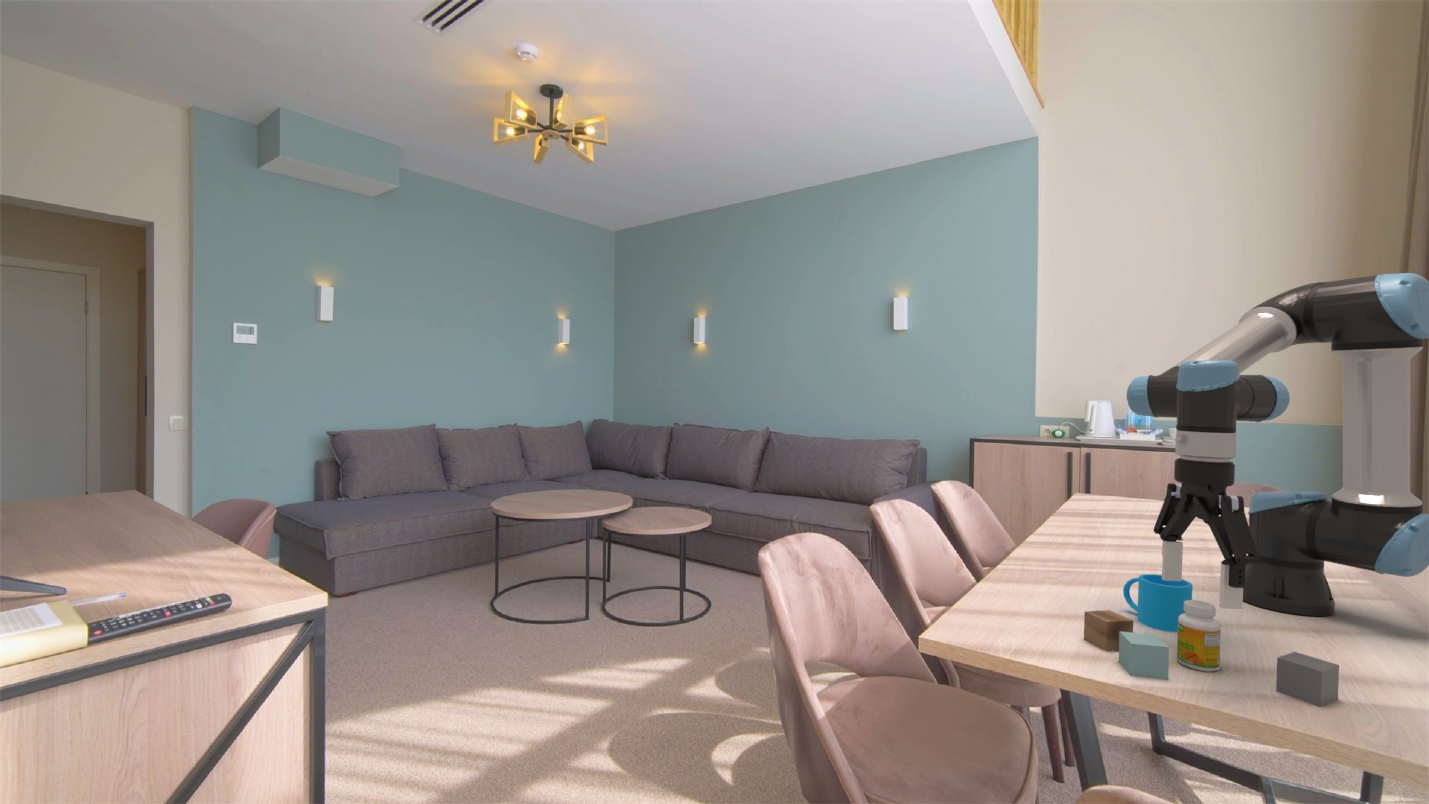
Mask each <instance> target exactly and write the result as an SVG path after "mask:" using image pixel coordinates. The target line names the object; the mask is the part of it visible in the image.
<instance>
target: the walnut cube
mask: <svg viewBox="0 0 1429 804" xmlns="http://www.w3.org/2000/svg"><path fill="white" fill-rule="evenodd" d="M1083 623H1084V625H1083V641H1085V642H1087V643H1090V644H1092V646H1095V647H1097V648H1099V649H1101V650H1103V651H1104V652H1117V651H1118V652H1119V631H1121V632H1131V633H1134V620H1133V619H1131V618H1130V617H1129V618H1128V617H1126V616H1125V615H1122V614H1119V613H1117V612H1115V611H1113V610H1110V609H1107V610H1090V611H1089V610H1088V611H1087V610H1086V611H1084V621H1083Z"/></svg>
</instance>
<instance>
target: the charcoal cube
mask: <svg viewBox="0 0 1429 804" xmlns="http://www.w3.org/2000/svg"><path fill="white" fill-rule="evenodd" d="M1339 677H1340V665H1339V664H1337V663H1334V662H1330V661H1327V660H1323V659H1320V658H1317V657H1314V656H1310V655H1307V654H1304V653H1300V652H1298V651H1292V652H1289V653H1286V654H1284V655H1281V656H1278V657H1277V658H1276V688H1275V692H1278V693H1280V694H1284V695H1287V696H1289V697H1291V698H1295V699H1297V700H1301V701H1303V702H1305V703H1309V704H1312V705H1315V706H1318V707H1321V708H1322V707H1324V706H1326V705H1328V704H1331V703H1333V702H1335V701H1337V700H1339V684H1340V683H1339V680H1340V678H1339Z"/></svg>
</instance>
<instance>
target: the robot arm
mask: <svg viewBox="0 0 1429 804" xmlns="http://www.w3.org/2000/svg"><path fill="white" fill-rule="evenodd" d="M1425 339H1429V280H1428V279H1426V278H1425V277H1424V276H1422V275H1420V274H1417V273H1413V272H1401V273H1400V272H1399V273H1382V274H1378V275H1377V274H1376V275H1369V276H1363V277H1353V278H1345V279H1340V280H1339V279H1337V280H1331V281H1319V282H1311V283H1307V284H1303V285H1300V286H1298V287H1294V288H1290V289H1288V290H1286V291H1284V292H1282V293H1280V294H1277V295H1275V296H1273V297H1271V298H1268V299H1266V300H1265V301H1263V302H1261V303H1259V304H1257V305H1256V306H1254V307H1252V308H1251V309H1249V310H1248V311H1246V312H1245V313H1244V314H1243V315H1242V316H1241V317H1240V319H1239V320H1238V324H1236V325H1234V326H1233V327H1231V328H1230V329H1229V330H1227V331H1226V332H1224V333H1222V334H1221V335H1220V336H1218V337H1217V338H1214V339H1213V340H1212V341H1210V342H1209V343H1207V344H1206V345H1204V346H1202V347H1201V348H1199V349H1198V350H1197V351H1195V352H1193V353H1192V354H1190V355H1188V356H1187V357H1185V358H1184V359H1183V360H1181V361H1180V362H1178V363H1176V364H1175V365H1173V366H1171V367H1170V368H1168V369H1166V371H1163V372H1162V373H1161V374H1158V375H1153V374H1148V375H1143V376H1137V377H1134V379H1133V380H1131V382H1130V383H1129V385H1128V387H1127V390H1126V401H1127V404H1128V408H1129V410H1131V412H1133V413H1135V414H1136V415H1138V416H1145V417H1153V418H1172V419H1173V418H1174V419H1176V427H1175V429H1176V433H1175V434H1176V435H1175V439H1174V441H1175V454H1176V455H1177V456H1179V457H1178V458H1176V459H1175V460H1174V473H1173V480H1174V481H1176V482H1178V483H1174V482H1173V483H1172V482H1168V483H1167V487H1166V495H1165V498H1164V500H1163V504H1162V506H1161V508H1160V510H1159V514H1158V516H1157V518H1156V522H1155V524H1154V527H1153V532H1154V534H1156V535H1159V538H1160V540H1162V553H1161V555H1162V561H1161V562H1162V564H1161V568H1162V569H1161V575H1162V580H1164V581H1182V579H1183V577H1182V576H1183V575H1182V574H1183V553H1184V552H1183V549H1184V548H1183V546H1184V542H1183V541H1184V539H1183V537H1182V536H1183V535H1184V533H1185V532H1186V531H1187V529H1188V528H1189V527H1190V525H1191V523H1192V522H1193V521H1194V520H1195V519H1196V518H1198V519H1199V520H1202V521H1203V523H1204V524H1206V525H1208V527H1209V529H1210V530H1211V533H1212V535H1213V537H1214V539H1215V542H1216V544H1217V545H1218V548H1219V550H1220V553H1221V555H1222V557H1223V560H1221V562H1220V576H1219V578H1220V579H1219V602H1218V603H1219V607H1220V608H1222V609H1232V610H1233V609H1234V610H1243V603H1244V602H1245V603H1247V604H1250V605H1252V606H1255V607H1259V608H1264V609H1268V610H1272V611H1276V612H1280V613H1286V614H1287V613H1288V614H1292V615H1299V616H1300V615H1302V616H1312V617H1313V616H1314V617H1325V616H1332V615H1334V614H1335V613H1336V612H1335V611H1336V601H1335V598H1334V596H1333V593H1332V591H1331V588H1330V585H1329V582H1328V580H1327V578H1326V577H1327V576H1326V574H1325V572H1324V571H1325V562H1326V563H1332V564H1337V565H1343V566H1346V567H1351V568H1356V569H1362V570H1366V571H1370V572H1375V573H1377V574H1379V575H1384V574H1387V575H1391V576H1397V577H1398V576H1399V577H1403V578H1409V577H1414V576H1418V575H1420V574H1421V573H1423V572H1424V571H1425V570H1426V569H1427V568H1428V567H1429V513H1424V512H1423V505H1424V504H1423V501H1422V500H1421V499H1420V498H1418V497H1417V496H1415V495H1414V493H1412V492H1411V359H1412V358H1413V357H1414V356H1416V355H1417V354H1418V353H1420V352H1421V351H1422V350H1423V349H1424V340H1425ZM1316 343H1318V344H1319V343H1321V344H1324V343H1325V344H1326V343H1331V345H1330V346H1331V347H1330V348H1331V354H1333V355H1335V357H1337V358H1339V360H1340V361H1342V487H1341V488H1340V489H1339V490H1337V491H1335V492H1334V493H1332V495H1331V501H1328V500H1329V497H1328V496H1327V494H1326V493H1325V492H1319V491H1301V490H1300V491H1297V490H1295V491H1291V490H1290V491H1288V490H1286V491H1283V490H1282V491H1261V492H1256V493H1254V494H1253V495H1252V496H1251V497H1250V502H1249V509H1248V512H1247V513H1248V514H1247V515H1248V519H1247V515H1246V513H1245V499H1244V497H1243V496H1241V495H1227V488H1228V487H1232V486H1234V484H1235V476H1236V475H1235V474H1236V473H1235V472H1236V471H1235V470H1236V464H1235V463H1234V462H1233V461H1231V460H1233V459H1235V458H1236V456H1237V433H1236V432H1237V422H1251V423H1252V422H1255V423H1261V422H1263V421H1264V422H1266V421H1271V420H1274V419H1277V418H1278V417H1280V416H1281V415H1283V414H1284V413H1285V412H1286V411H1287V409H1288V407H1289V404H1290V401H1291V400H1290V399H1291V398H1290V397H1291V395H1290V393H1289V389H1288V388H1287V386H1286V385H1285V384H1284V382H1282V381H1281V380H1279V379H1277V378H1275V377H1271V376H1266V375H1264V374H1241V373H1243V372H1245V371H1246V370H1248V368H1250V367H1252V366H1253V365H1255V364H1256V363H1258V361H1260V360H1262V359H1263V358H1264V357H1266V356H1268V355H1269V354H1271V353H1273V354H1274V353H1279V352H1281V351H1284V350H1286V349H1288V348H1289V347H1291V346H1296V345H1303V344H1304V345H1305V344H1316Z"/></svg>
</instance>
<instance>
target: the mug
mask: <svg viewBox="0 0 1429 804" xmlns="http://www.w3.org/2000/svg"><path fill="white" fill-rule="evenodd" d="M1135 583H1138V586H1137V587H1138V588H1137V590H1138V591H1137V605H1136V603H1135V602H1134V601H1133V599H1132V597H1131V592H1130V590H1131V587H1132V586H1133V584H1135ZM1122 592H1123V596H1124V597H1123V598H1124V599H1125V601H1126V603H1127V604H1128V606H1129V607H1130V608H1131V609H1132V610H1134V612H1136V613H1137V616H1136V617H1137V621H1138V623H1140V624H1141V625H1144V626H1146V627H1148V628H1152V629H1154V630H1155V629H1156V630H1159V631H1164V632H1170V633H1178V617H1179V616H1180V615H1181V614H1184V613H1185V611H1184V601H1186V600H1193V584H1192V583H1191V581H1188V580H1185V579H1183V578H1182V581H1164V580H1162V574H1156V573H1155V574H1153V573H1149V574H1148V573H1146V574H1145V573H1144V574H1141V575H1139V576H1138V577H1133V578H1131V579H1128V580H1127V581H1126V583H1124V585H1123V589H1122Z"/></svg>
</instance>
